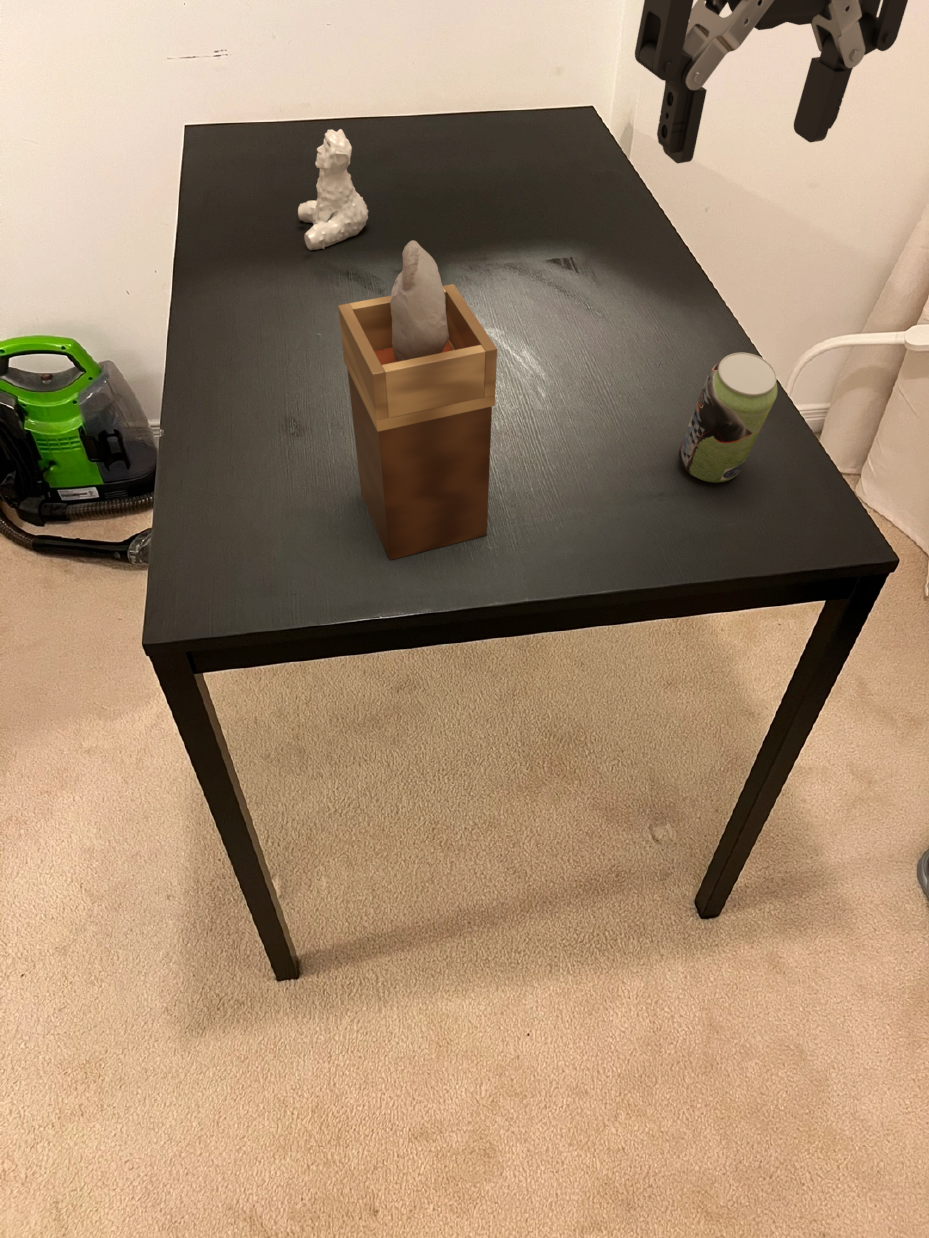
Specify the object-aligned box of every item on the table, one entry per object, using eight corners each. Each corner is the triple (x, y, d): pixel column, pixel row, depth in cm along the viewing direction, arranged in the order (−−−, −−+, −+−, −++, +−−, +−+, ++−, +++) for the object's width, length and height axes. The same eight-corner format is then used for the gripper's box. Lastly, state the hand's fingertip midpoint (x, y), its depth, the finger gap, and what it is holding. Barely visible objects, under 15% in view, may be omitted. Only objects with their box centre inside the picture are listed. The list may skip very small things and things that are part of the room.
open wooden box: (453, 340, 72) (453, 283, 68) (495, 406, 67) (497, 348, 63) (344, 362, 70) (337, 305, 66) (377, 432, 64) (372, 374, 61)
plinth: (452, 471, 83) (452, 341, 72) (487, 535, 77) (492, 405, 67) (360, 493, 81) (346, 362, 70) (389, 560, 75) (378, 430, 65)
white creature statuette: (297, 216, 114) (283, 117, 105) (362, 209, 115) (354, 111, 106) (307, 252, 108) (293, 151, 99) (376, 244, 110) (368, 143, 100)
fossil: (455, 385, 66) (455, 259, 58) (413, 397, 65) (407, 270, 57) (423, 345, 69) (419, 221, 62) (382, 356, 68) (373, 231, 61)
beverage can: (714, 439, 86) (746, 331, 77) (762, 485, 82) (801, 376, 73) (661, 457, 84) (687, 349, 75) (707, 505, 80) (740, 396, 71)
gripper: (742, -240, 33) (663, 196, 45) (1042, -254, 36) (890, 157, 49) (649, -266, 37) (599, 137, 50) (923, -276, 41) (812, 105, 53)
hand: (743, 147), depth 49 cm, fingers open, 8 cm apart
